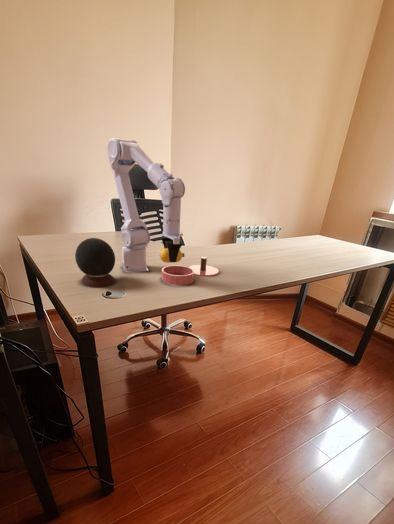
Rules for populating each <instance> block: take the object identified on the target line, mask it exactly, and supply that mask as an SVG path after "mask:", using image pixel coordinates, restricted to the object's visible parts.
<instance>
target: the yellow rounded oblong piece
mask: <svg viewBox="0 0 394 524" xmlns="http://www.w3.org/2000/svg"><path fill="white" fill-rule="evenodd" d="M185 255H186V253H185V252H183V251H181V249H180V250H179V252H178V256H177V260H176V262H170V260H169V253H168V248H164V247H163V248H162V249H161V250H160V252H159V259H160V261H162V262H163V263H166V264H171V263H179V262H180V261H181V260H182V258H185V257H186V256H185Z"/></svg>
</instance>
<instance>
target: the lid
mask: <svg viewBox="0 0 394 524" xmlns="http://www.w3.org/2000/svg"><path fill="white" fill-rule="evenodd" d="M207 261H208V257H207V256H201V257H200V264H194V265H190V266H188V267H189V268H192V269H193V270H194V276H199V277H214V276H217V275H218V274H219V271H220V270H219V269H218V268H216V267H215V266H211V265H207Z"/></svg>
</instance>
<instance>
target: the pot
mask: <svg viewBox="0 0 394 524" xmlns="http://www.w3.org/2000/svg"><path fill="white" fill-rule="evenodd" d="M189 267H190V266H185V265H176V264H175V265H174V264H173V265H167V266H164V267H162V268H161V281H162V282H164V283H166V284H168V285H173V286H186V285H191V284H193V283H194V280H195V275H194V270H193V269H192V268H189Z"/></svg>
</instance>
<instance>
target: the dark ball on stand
mask: <svg viewBox="0 0 394 524" xmlns="http://www.w3.org/2000/svg"><path fill="white" fill-rule="evenodd" d="M74 259H75V262H76V265H77V267H78V269H79V270H80V272H82V273H83V274H84V275H83V276H82V278H81V283H82V285H84V286H86V287H90V288H104V287H109V286H111V285H113V284H114V283H115V278H114V276H113V275H112V274H110V273H111V272H112V271H113V270H114V267H115V265H116V255H115V251H114V249H113V248H112V246H111V245H110V244H109V243H108V242H106V241H105V240H103V239H101V238H97V237H89V238H86V239H85V240H83V241H81V242H80V243H79V244H78V246H77V247H76V250H75V255H74Z"/></svg>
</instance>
